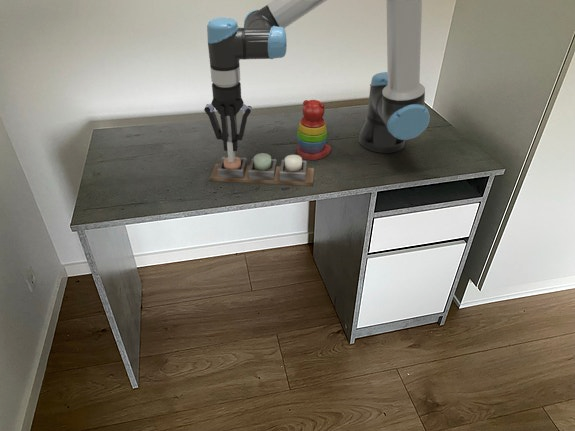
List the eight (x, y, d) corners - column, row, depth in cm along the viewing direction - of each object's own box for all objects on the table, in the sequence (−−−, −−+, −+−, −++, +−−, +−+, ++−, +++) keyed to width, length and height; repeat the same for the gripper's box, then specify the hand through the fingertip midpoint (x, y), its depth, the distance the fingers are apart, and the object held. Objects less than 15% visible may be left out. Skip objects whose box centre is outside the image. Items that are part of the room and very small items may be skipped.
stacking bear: (333, 149, 153) (336, 97, 142) (321, 163, 145) (324, 110, 134) (302, 142, 156) (304, 91, 145) (289, 156, 149) (290, 103, 138)
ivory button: (302, 163, 139) (302, 155, 137) (301, 172, 135) (301, 163, 133) (285, 163, 139) (285, 154, 137) (284, 172, 135) (284, 163, 134)
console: (313, 170, 142) (314, 160, 140) (312, 185, 136) (313, 175, 133) (215, 166, 144) (214, 156, 141) (210, 180, 137) (209, 170, 135)
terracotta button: (242, 165, 141) (241, 156, 139) (239, 174, 137) (239, 165, 135) (225, 164, 141) (225, 155, 139) (222, 173, 137) (222, 164, 135)
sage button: (272, 162, 140) (271, 153, 138) (270, 171, 136) (270, 162, 134) (255, 161, 140) (255, 152, 138) (253, 170, 136) (252, 161, 134)
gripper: (252, 77, 125) (255, 154, 140) (204, 75, 126) (212, 152, 140) (248, 88, 119) (252, 167, 134) (198, 86, 120) (207, 165, 135)
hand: (231, 159), depth 137 cm, fingers closed
